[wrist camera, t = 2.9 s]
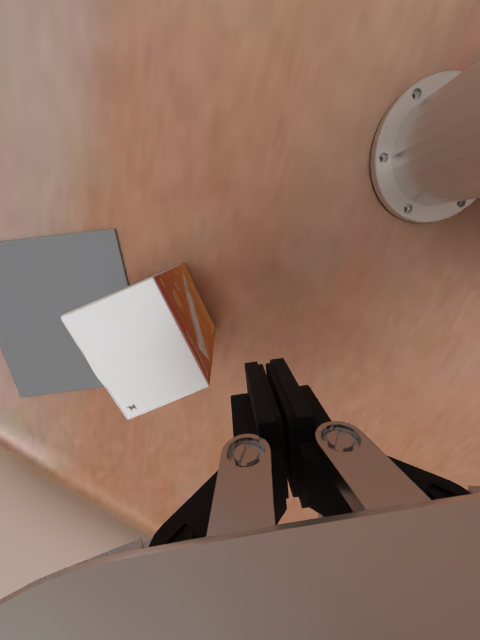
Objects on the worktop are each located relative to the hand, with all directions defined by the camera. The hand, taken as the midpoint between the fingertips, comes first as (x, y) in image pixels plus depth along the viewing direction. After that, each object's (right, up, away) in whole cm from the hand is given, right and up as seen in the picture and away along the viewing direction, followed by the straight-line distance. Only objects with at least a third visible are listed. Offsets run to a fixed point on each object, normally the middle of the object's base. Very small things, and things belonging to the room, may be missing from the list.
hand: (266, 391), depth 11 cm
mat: (-20, +3, +17) cm, 27 cm away
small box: (-8, +5, +18) cm, 20 cm away
